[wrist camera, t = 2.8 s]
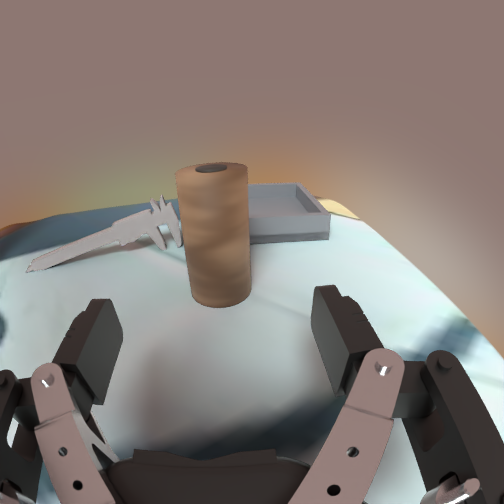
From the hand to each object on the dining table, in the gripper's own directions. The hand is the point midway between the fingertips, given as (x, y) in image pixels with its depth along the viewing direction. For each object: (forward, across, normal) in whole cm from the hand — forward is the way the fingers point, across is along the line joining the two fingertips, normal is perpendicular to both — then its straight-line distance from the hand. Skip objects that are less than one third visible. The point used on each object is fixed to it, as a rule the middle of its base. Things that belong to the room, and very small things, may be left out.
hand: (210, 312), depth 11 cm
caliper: (+18, +15, +7) cm, 25 cm away
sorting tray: (+26, -4, +7) cm, 27 cm away
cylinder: (+11, 0, +7) cm, 13 cm away
